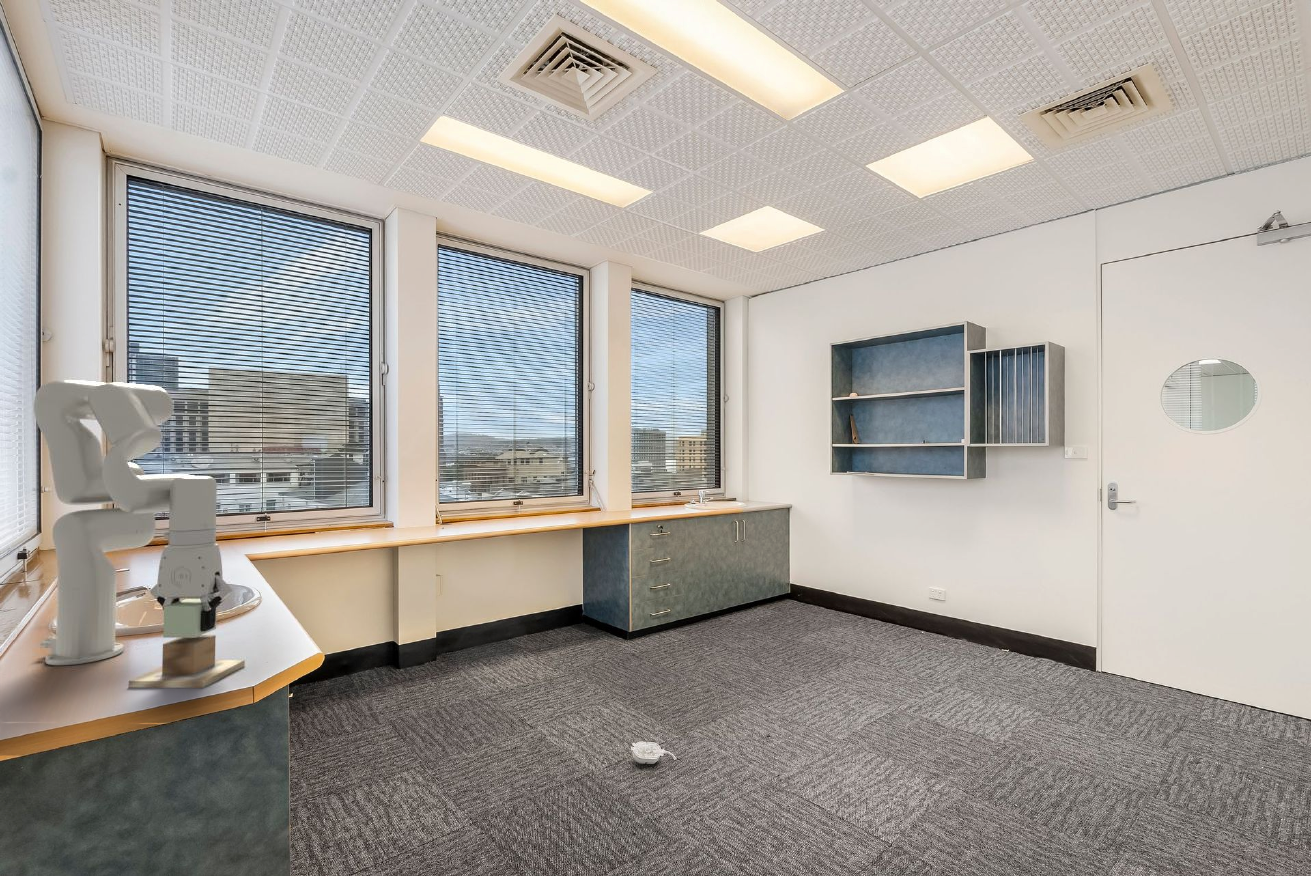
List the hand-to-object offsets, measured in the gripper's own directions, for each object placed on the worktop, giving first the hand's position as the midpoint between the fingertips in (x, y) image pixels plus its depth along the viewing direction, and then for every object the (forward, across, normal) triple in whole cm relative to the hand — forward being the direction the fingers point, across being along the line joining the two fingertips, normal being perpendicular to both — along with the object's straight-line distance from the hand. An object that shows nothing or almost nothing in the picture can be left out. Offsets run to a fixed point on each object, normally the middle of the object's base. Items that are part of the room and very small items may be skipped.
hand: (190, 628), depth 124 cm
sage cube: (+1, 0, 0) cm, 1 cm away
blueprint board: (+9, 0, 0) cm, 9 cm away
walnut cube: (+8, 0, 0) cm, 8 cm away
